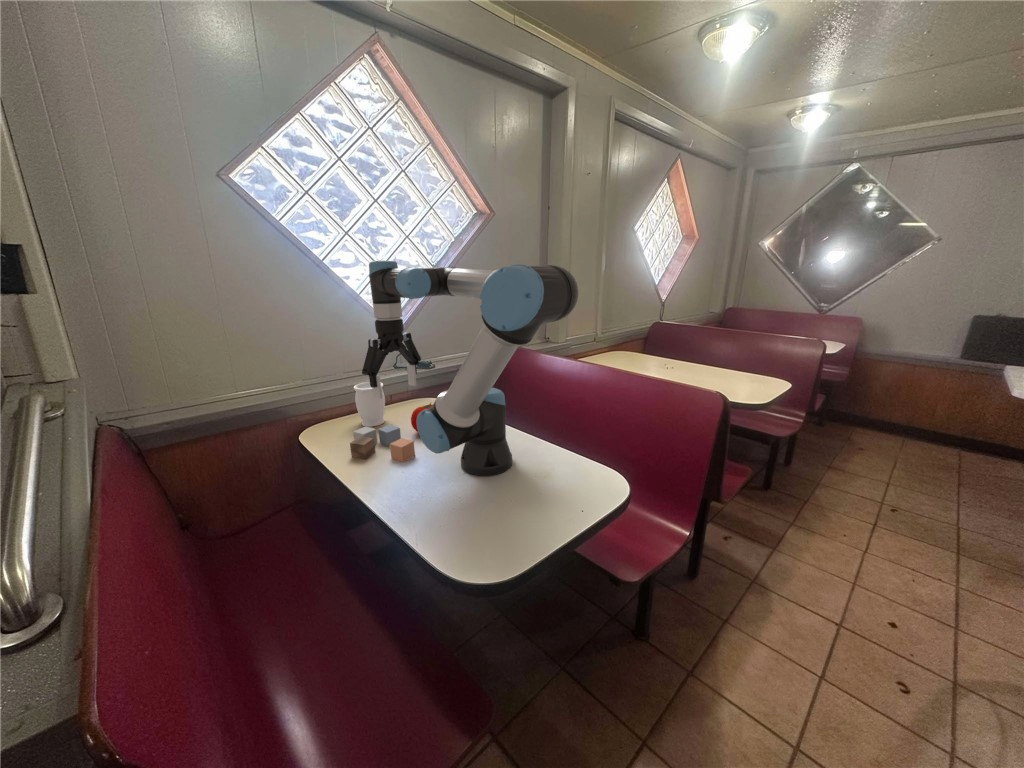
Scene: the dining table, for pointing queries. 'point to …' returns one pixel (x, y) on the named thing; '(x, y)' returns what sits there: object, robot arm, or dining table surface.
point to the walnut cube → (362, 447)
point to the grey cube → (366, 433)
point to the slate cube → (389, 434)
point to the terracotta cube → (402, 450)
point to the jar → (369, 405)
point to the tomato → (415, 414)
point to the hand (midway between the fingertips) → (396, 391)
